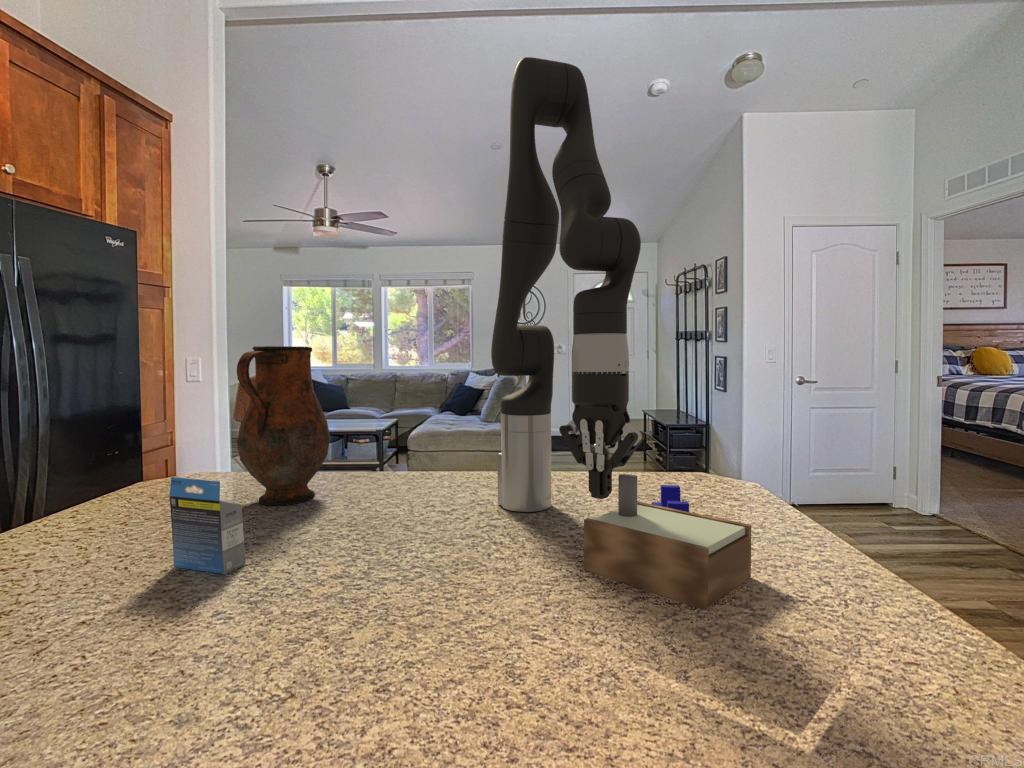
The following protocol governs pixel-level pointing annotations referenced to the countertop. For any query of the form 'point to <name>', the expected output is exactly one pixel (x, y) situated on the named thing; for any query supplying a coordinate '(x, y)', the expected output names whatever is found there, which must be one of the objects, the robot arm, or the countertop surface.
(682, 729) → the countertop surface
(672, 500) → the blue curved stepped block
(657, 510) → the cover plate
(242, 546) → the label tape box
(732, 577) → the walnut box
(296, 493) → the pitcher
